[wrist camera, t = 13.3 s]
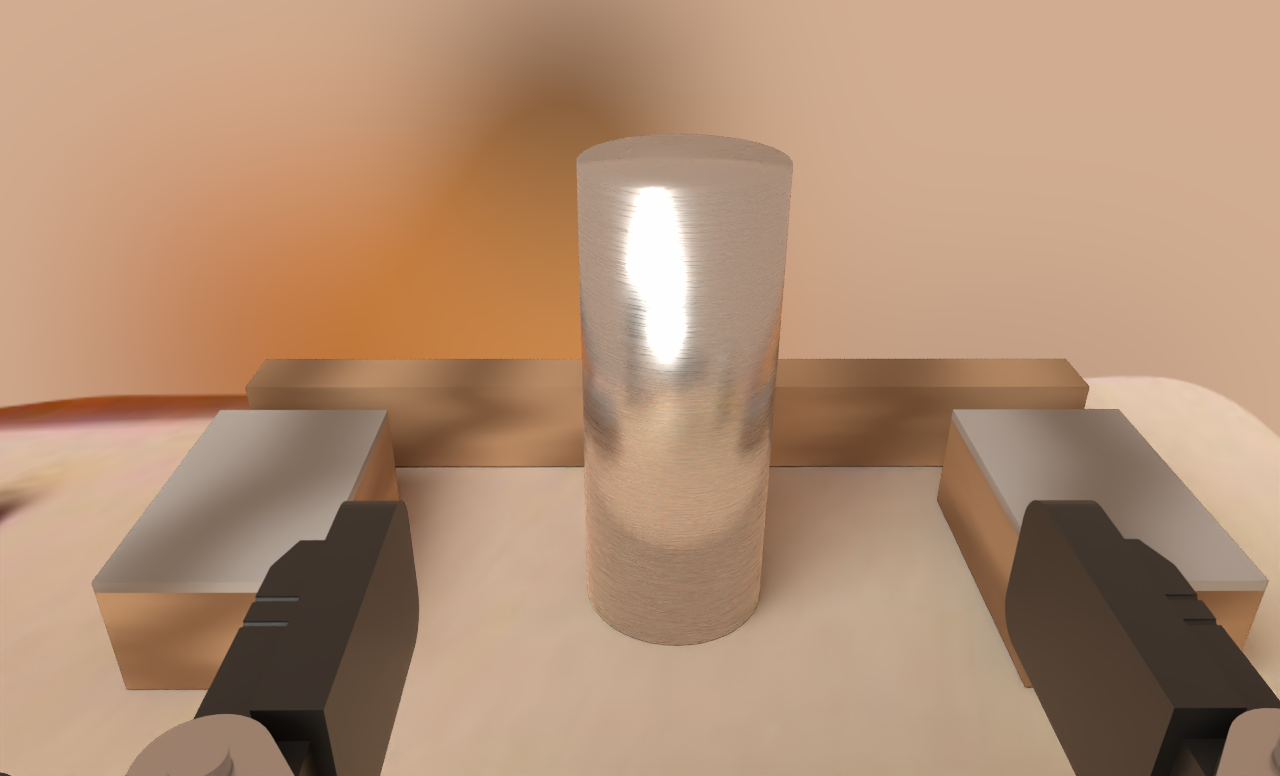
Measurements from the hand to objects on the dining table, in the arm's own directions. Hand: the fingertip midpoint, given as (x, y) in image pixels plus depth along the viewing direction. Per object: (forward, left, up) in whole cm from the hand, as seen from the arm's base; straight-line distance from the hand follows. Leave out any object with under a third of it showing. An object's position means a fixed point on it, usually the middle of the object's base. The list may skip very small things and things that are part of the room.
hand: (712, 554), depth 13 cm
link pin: (0, +11, -10) cm, 15 cm away
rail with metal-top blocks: (0, +13, -10) cm, 17 cm away
